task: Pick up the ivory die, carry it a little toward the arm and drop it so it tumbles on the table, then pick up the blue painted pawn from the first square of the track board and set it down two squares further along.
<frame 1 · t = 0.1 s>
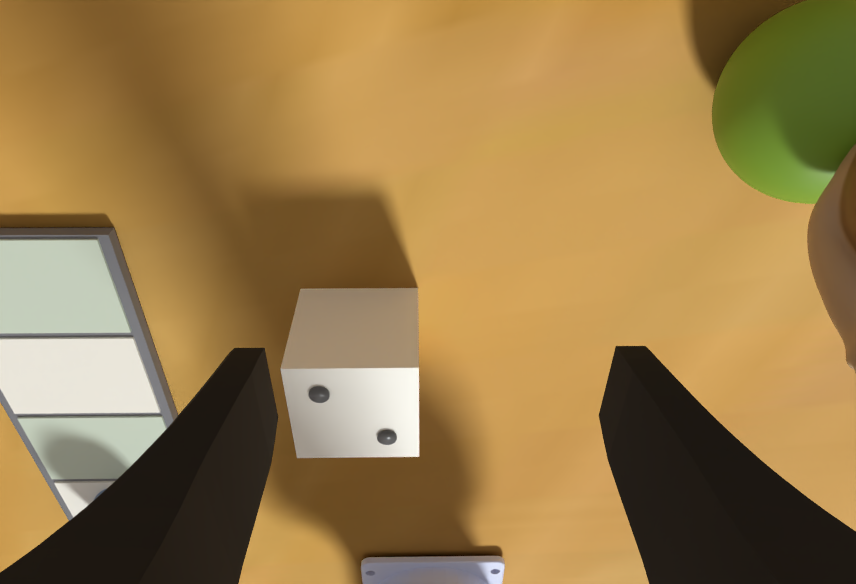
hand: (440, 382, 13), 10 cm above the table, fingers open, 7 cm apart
snail figurine: (758, 83, 20), on the table
die: (362, 331, 25), on the table
board: (94, 405, 27), on the table
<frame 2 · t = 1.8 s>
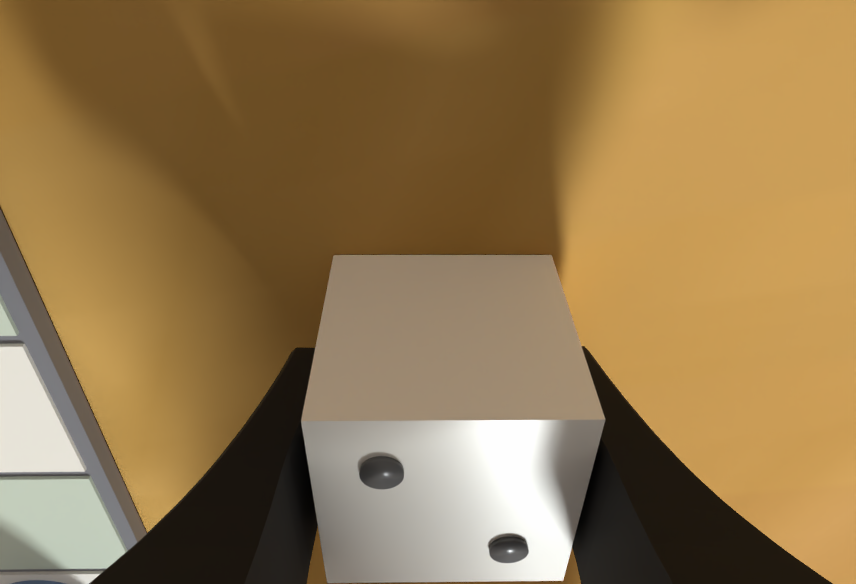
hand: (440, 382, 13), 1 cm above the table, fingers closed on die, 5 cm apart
die: (440, 338, 14), on the table, touching gripper
when the fingers open (7 cm above the table, at t = 3.5 s): die drops 6 cm, on the table.
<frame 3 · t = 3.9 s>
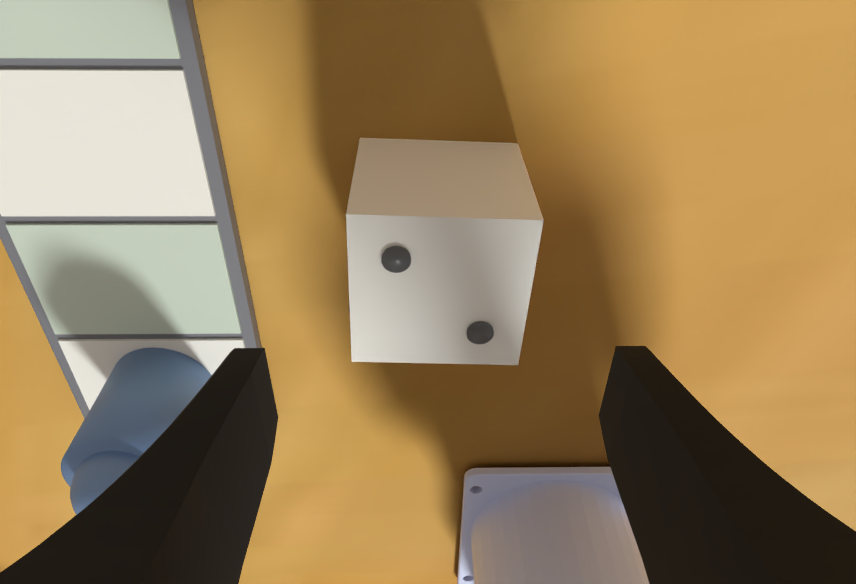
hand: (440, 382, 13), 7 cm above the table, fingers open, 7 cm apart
die: (435, 208, 19), on the table
pawn: (165, 385, 22), point 1 cm above the table, touching board
board: (118, 210, 19), on the table
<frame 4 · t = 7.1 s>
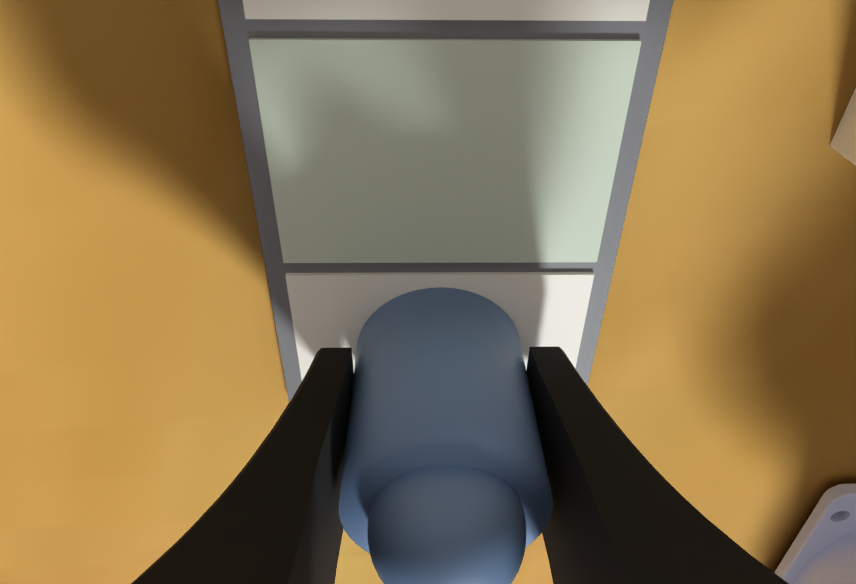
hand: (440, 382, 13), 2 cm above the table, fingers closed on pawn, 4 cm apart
pawn: (438, 353, 14), point 1 cm above the table, touching board, gripper
board: (445, 21, 10), on the table
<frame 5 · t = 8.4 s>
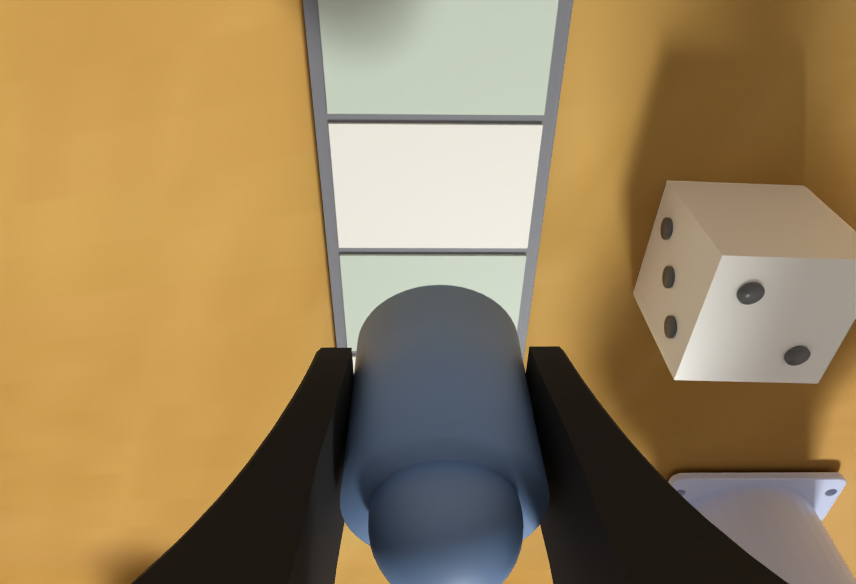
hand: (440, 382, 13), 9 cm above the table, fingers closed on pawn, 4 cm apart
die: (712, 241, 21), on the table
pawn: (438, 349, 14), point 7 cm above the table, touching gripper
board: (432, 242, 21), on the table
when the fingers open (3 cm above the table, at t = 9.9 s): pawn stays where it is, resting on board.
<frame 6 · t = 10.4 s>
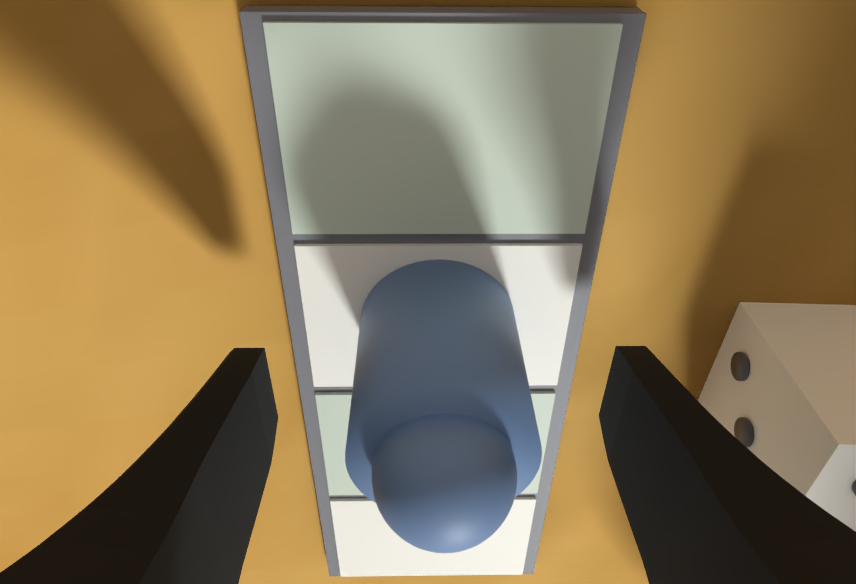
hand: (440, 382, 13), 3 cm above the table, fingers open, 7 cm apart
die: (791, 368, 17), on the table
pawn: (437, 323, 15), point 1 cm above the table, touching board
board: (435, 373, 16), on the table
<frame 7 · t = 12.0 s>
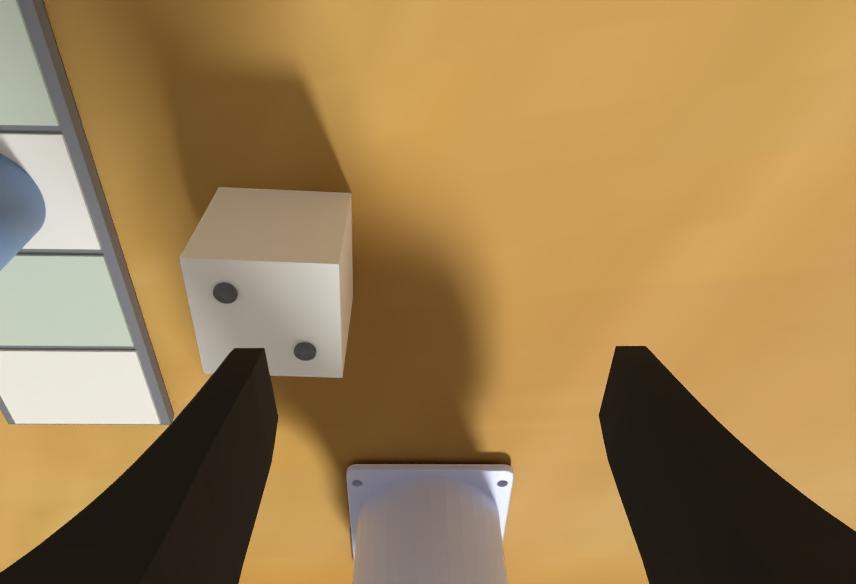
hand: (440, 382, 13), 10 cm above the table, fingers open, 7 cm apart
die: (290, 244, 23), on the table
board: (21, 243, 22), on the table
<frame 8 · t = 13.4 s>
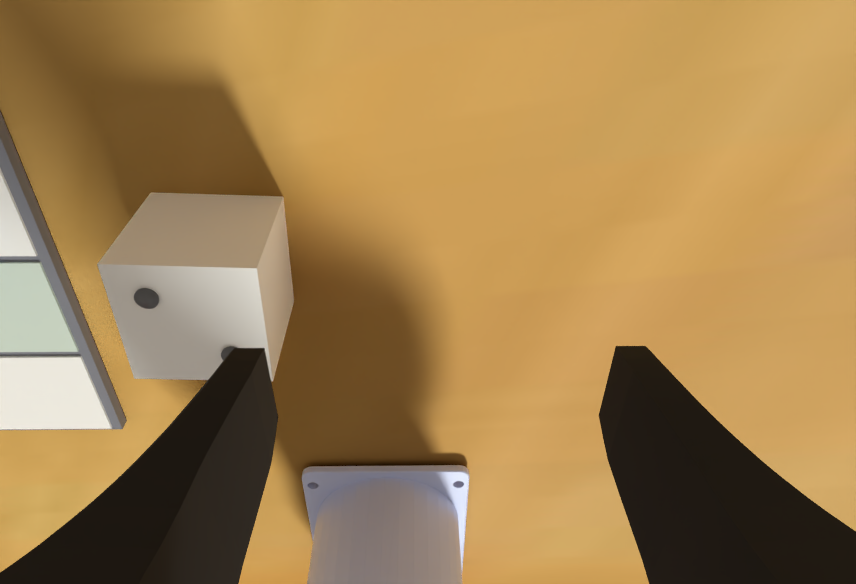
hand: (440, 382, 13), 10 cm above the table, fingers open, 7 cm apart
die: (227, 248, 23), on the table
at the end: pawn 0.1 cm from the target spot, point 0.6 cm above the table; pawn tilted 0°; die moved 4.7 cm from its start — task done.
